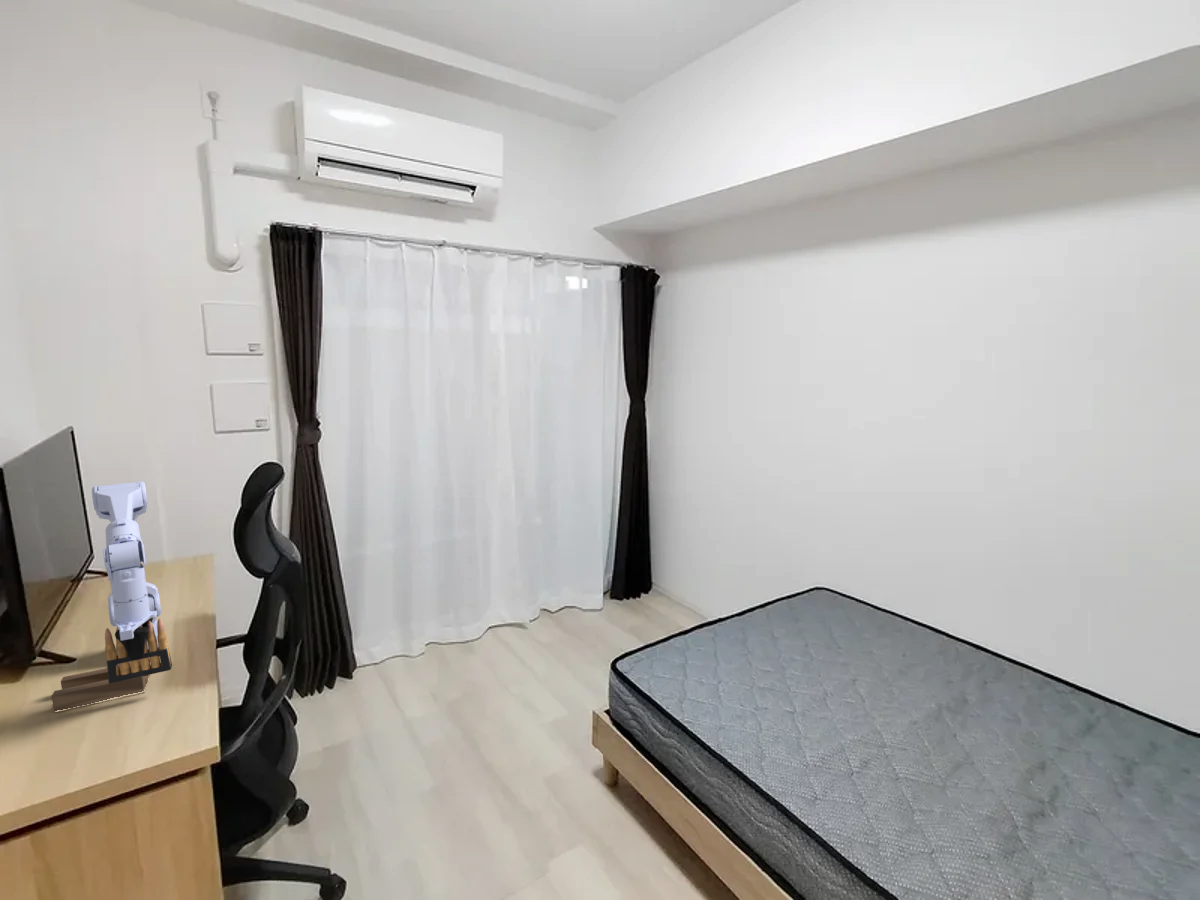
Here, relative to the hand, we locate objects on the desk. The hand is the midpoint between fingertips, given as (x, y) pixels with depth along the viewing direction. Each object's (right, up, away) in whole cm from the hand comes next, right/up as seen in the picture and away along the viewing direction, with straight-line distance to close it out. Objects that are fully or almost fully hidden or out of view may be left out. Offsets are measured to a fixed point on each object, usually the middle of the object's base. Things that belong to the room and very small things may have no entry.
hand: (138, 656), depth 123 cm
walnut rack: (-11, -10, +4) cm, 15 cm away
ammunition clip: (0, -5, +1) cm, 5 cm away
